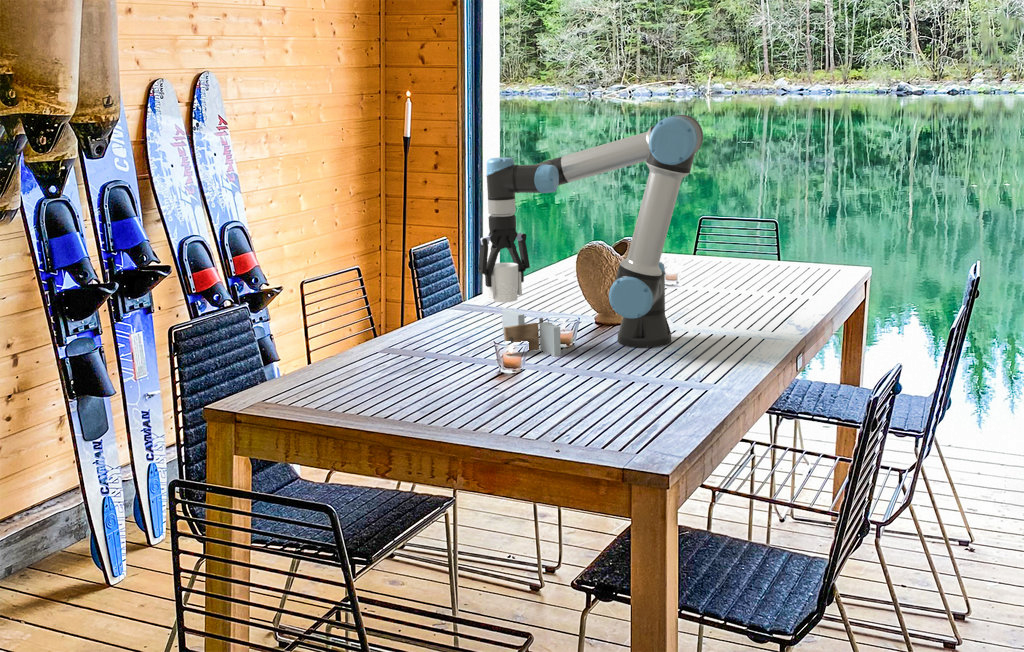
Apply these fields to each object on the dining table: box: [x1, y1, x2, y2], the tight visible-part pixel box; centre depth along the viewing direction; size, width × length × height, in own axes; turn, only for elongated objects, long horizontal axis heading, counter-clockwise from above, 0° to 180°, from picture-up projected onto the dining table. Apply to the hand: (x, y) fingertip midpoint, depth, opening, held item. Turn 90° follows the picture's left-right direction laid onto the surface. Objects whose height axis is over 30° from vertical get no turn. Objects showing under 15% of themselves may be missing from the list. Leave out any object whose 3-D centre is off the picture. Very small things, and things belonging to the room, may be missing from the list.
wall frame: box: [501, 308, 562, 357], centre depth 314 cm, size 30×2×9 cm, turn 28°
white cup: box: [492, 262, 518, 303], centre depth 309 cm, size 8×8×10 cm
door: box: [503, 322, 540, 352], centre depth 306 cm, size 10×2×8 cm, turn 115°
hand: (505, 296), depth 310 cm, fingers closed on white cup, 8 cm apart
